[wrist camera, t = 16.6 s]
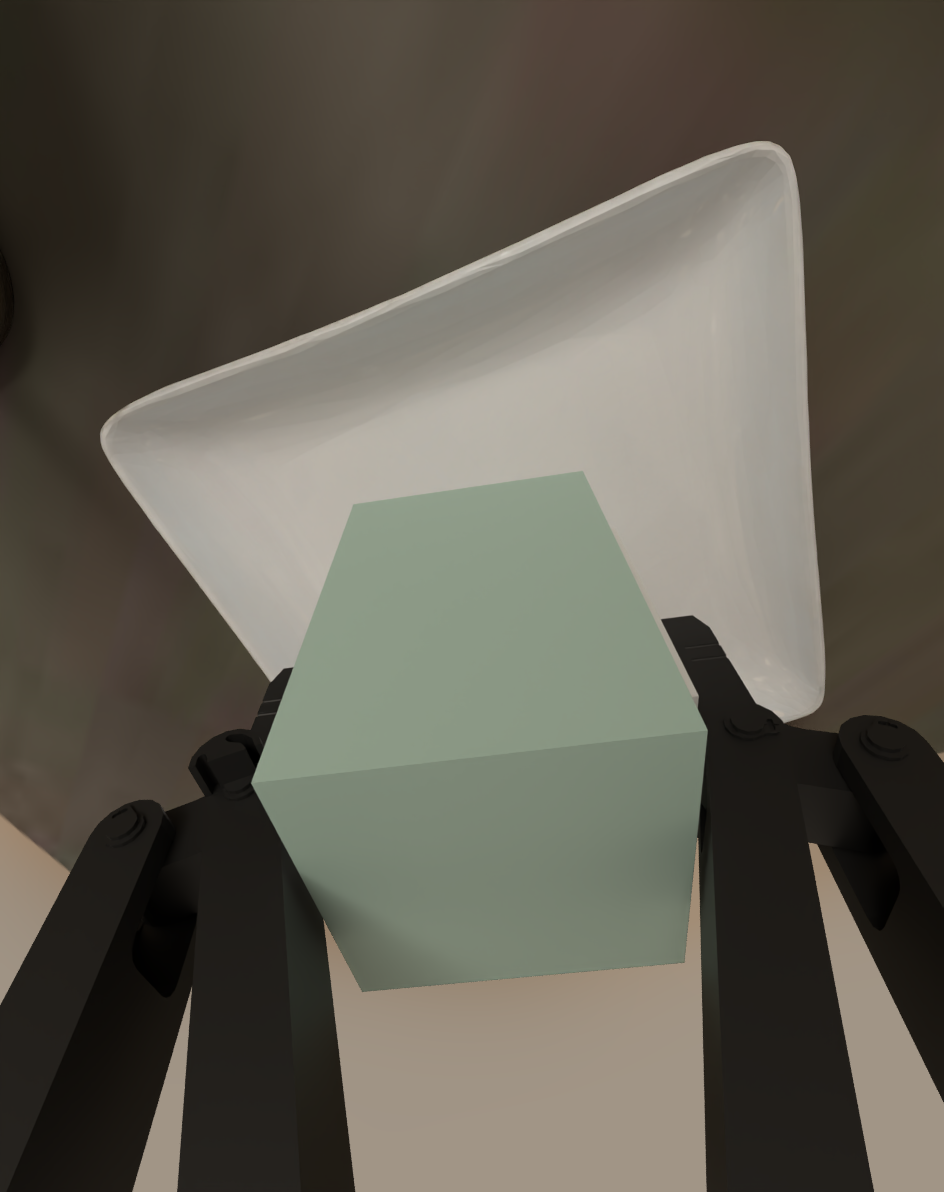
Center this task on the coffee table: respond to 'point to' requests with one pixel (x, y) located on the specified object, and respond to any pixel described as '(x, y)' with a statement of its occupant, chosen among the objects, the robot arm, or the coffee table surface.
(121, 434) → the salad plate
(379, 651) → the block
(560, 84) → the coffee table surface
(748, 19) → the coffee table surface
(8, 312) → the balance
